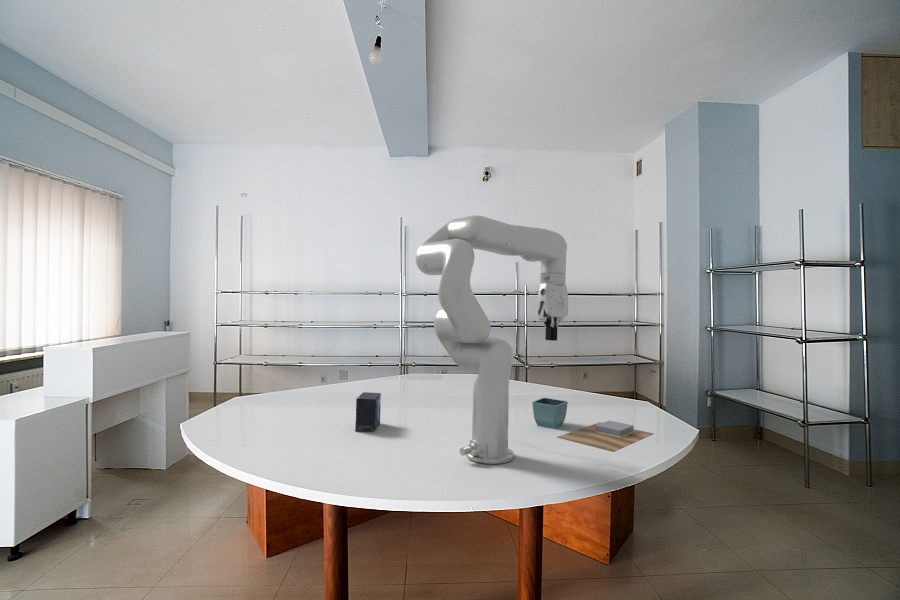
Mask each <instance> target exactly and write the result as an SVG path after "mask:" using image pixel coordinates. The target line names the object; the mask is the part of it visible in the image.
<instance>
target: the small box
mask: <svg viewBox="0 0 900 600" xmlns="http://www.w3.org/2000/svg"><path fill="white" fill-rule="evenodd" d="M355 400H356V401H355V404H356V405H355V406H356V407H355V429H354V430H355V432H366V433H367V432H368V433H369V432H370V433H372V432H373V433H375V431H376V430H377V428H378V427H379V426H380V424H381V407H382V406H381V400H382V395H381V392H367V391H366V392H365V391H364V392H362V393H361V394H360V395H358V396H357V398H356V399H355Z"/></svg>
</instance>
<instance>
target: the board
mask: <svg viewBox="0 0 900 600" xmlns="http://www.w3.org/2000/svg"><path fill="white" fill-rule="evenodd" d="M601 423H602V422H597V423H594V424H591V425H588V426H585V427H581V428H579V429H576V430H573V431H570V432H566V433H564V434H561V435H558V436H556V438H557V439H561V440H565V441H570V442H573V443H577V444H581V445H585V446H589V447H592V448H597V449H601V450H605V451H608V452H612V453H614V452H616V451H619V450H621V449H624V448H626V447H628V446H630V445H632V444H634V443H637V442H639V441H641V440H644V439H646V438H648V437H650V436H652V435H654V432H648V431H643V430H639V429H635V428H634V432H632V433H630V434H627V435H625V436H622V437H616V436H611V435H607V434H603V433H598V432H595V425H598V424H601Z"/></svg>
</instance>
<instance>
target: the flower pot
mask: <svg viewBox="0 0 900 600" xmlns="http://www.w3.org/2000/svg"><path fill="white" fill-rule="evenodd" d="M568 403H569V401H568V400H562V399H555V398H551V397H550V398H549V397H541V398H538V399H536V400H534V401H532V413H533V414H532V415H533V419H534V421H535V424H536V426H538V427H544V428H548V429H557V428H559V427H561V426H562V425H563V424H564V422H565V419H566V416H567V410H568V405H569V404H568Z"/></svg>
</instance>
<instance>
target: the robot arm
mask: <svg viewBox="0 0 900 600" xmlns="http://www.w3.org/2000/svg"><path fill="white" fill-rule="evenodd" d="M567 249H568V243H567V241H566V239H565V237H564V236H562V235H561V234H560V233H559V232H556V231H553V230H550V229H546V228H545V229H544V228H540V227H531V226H530V227H529V226H524V225H515V224H510V223H506V222H502V221H501V220H496V219H493V218H489V217H487V216H483V215H468V216H464V217H459V218H453V219H452V220H450V221H448V222H446V223H445V224H444V225H443V226H441V227H440V228H439V229H438V230H437V231H436V232H435V233H433V234H431V236H430V237H429V238H427V239H426V240H425V241H424V242H423V243H422V244H421V245H420V246H419V247H418V249H417V251H416V252H415V253H416V254H415V264H416V266H417V268H418V270H419V271H420V272H421V273H423V274H424V275H428V276H440V277H441V278H440V281H439V286H438V291H437V297H438V302H439V304H440V306H441V309H439V310H438V311H437V313H436V314H435V316H434V321H433V328H434V332H435V335H436V337H437V339H438V340H439V342H440V344H441V345H442V347H443V348H444V349H445V351H446V352H447V353H448V355H449V357H450V358H451V359H452V361H453V362H454V363H455V364H456V366H458V367H460V368H462V369H465V370H469V371H476V372H479V373H478V376H477V377H476V379H475V381H474V383H473V385H472V386H473V387H472V427H471V428H472V431H471V432H472V433H471V439H470V440H469V444H468V445H467V446H464V447H460V448H459V454H460V455H461V456H466V457H467V458H468V459H469V460H470V461H473V462H476V463H480V464H485V465H486V464H489V465H496V464H504V463H508V462H511V461H513V459H514V456H515V453H514V451H513V450H512V449H510V448H509V403H510V402H509V401H510V399H509V398H510V397H509V396H510V395H509V389H510V388H509V387H510V376H511V369H512V365H513V361H514V352H513V347H512V346H511V344H510V343H509V342H508V341H506V340H505V339H503V338H501V337H496V336H490V334H491V332H492V331H491V330H492V328H491V327H492V326H491V323H490V320H489V318H488V316H487V315H486V312H485V311H484V309H483V308H482V306H481V304H480V302H479V301H478V299H477V298H476V296H475V294H474V292H473V291H472V286H471V277H472V276H471V275H472V271H473V269H474V268H473V267H474V264H475V251H474V250H481V251H484V252H489V253H494V254H498V255H501V256H510V257H511V256H514V257H515V256H516V257H517V256H520V258H522V259H523V260H524V261H526V262H530V263H533V262H540V282H539V283H540V284H539V289H538V294H537V305H536V306H537V309H536V310H537V311H536V312H537V315H538V316H539V319H538V320H539V321H541V322H543V324H544V327H545V333H544V334H545V341H550V342H551V341H558V328H559V326H560V323H561V322H563V321H565V319H564V318H567V317H568V316H569V297H568V296H569V295H568V294H569V293H568V289H567V285H566V279H567V278H566V276H567V251H568V250H567Z"/></svg>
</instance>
